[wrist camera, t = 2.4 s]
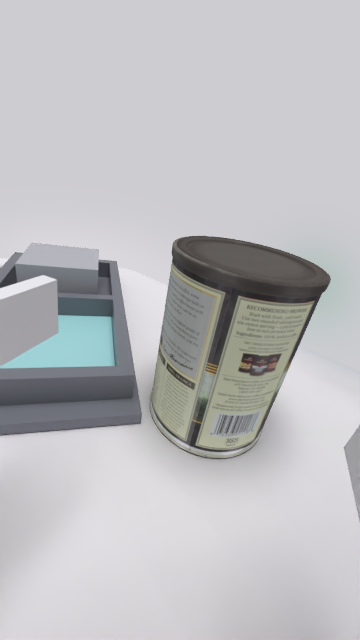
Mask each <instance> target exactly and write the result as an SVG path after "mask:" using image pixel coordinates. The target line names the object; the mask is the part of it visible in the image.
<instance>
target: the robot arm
mask: <svg viewBox="0 0 360 640" xmlns="http://www.w3.org/2000/svg"><path fill="white" fill-rule="evenodd" d="M57 333H58V294H57V280H56V279H53V278H50V277H48V276H45V275H41V276H38V277H35V278H32V279H28V280H25V281H22V282H19V283H16V284H12V285H9V286H6V287H3V288H0V366H2V365H4V364H6V363H7V362H9V361H11V360H13V359H14V358H16V357H18V356H19V355H21V354H23V353H25V352H26V351H28V350H30V349H31V348H33V347H35V346H37V345H38V344H40V343H42V342H44V341H45V340H47V339H49V338H50V337H52V336H54V335H56V334H57ZM344 450H345V455H346V460H347V464H348V469H349V474H350V478H351V483H352V488H353V492H354V497H355V502H356V506H357V511H358V516H359V520H360V425H359V427H358V428H357V430H356V431H355V432H354V434H353V435H352V437H351V438H350V440H349V441H348V442H347V444H346V445H345V447H344Z"/></svg>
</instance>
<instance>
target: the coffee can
mask: <svg viewBox="0 0 360 640" xmlns="http://www.w3.org/2000/svg"><path fill="white" fill-rule="evenodd" d="M172 256H173V260H172V266H171V272H170V279H169V285H168V292H167V298H166V305H165V312H164V318H163V325H162V331H161V338H160V345H159V351H158V358H157V364H156V370H155V377H154V384H153V390H152V393H151V396H150V410H151V415H152V417H153V419H154V422H155V423H156V425H157V427H158V428H159V429H160V431H161V432H162V433H163V434H164V435H165V436H166V437H167V438H168V439H169V440H170V441H172V442H173V443H175V444H176V445H177V446H179V447H180V448H182V449H184V450H186V451H188V452H190V453H193V454H196V455H199V456H203V457H209V458H228V457H233V456H237V455H240V454H242V453H244V452H246V451H247V450H249V449H251V448H252V447H253V446H254V444H255V443H256V442H257V441H258V439H259V437H260V434H261V431H262V428H263V426H264V423H265V421H266V419H267V416H268V414H269V412H270V409H271V407H272V405H273V403H274V401H275V398H276V396H277V394H278V391H279V389H280V387H281V385H282V382H283V380H284V378H285V375H286V373H287V371H288V369H289V366H290V364H291V362H292V359H293V357H294V355H295V353H296V351H297V348H298V346H299V344H300V341H301V339H302V337H303V335H304V332H305V330H306V328H307V326H308V324H309V321H310V319H311V317H312V314H313V312H314V310H315V307H316V305H317V303H318V301H319V299H320V296H321V294H322V293H323V292H324V291H325V290H326V289H327V287H328V285H329V283H330V280H331V279H330V276H329V274H327V273H326V272H325V271H324V270H323V269H322V268H320V267H319V266H317V265H315V264H314V263H312V262H310V261H307V260H305V259H303V258H301V257H298V256H295V255H293V254H290V253H287V252H284V251H281V250H278V249H274V248H271V247H267V246H263V245H259V244H254V243H250V242H245V241H240V240H234V239H228V238H221V237H208V236H190V237H183V238H179V239H177V240H175V241H174V243H173V247H172Z"/></svg>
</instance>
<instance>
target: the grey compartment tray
mask: <svg viewBox="0 0 360 640" xmlns="http://www.w3.org/2000/svg"><path fill="white" fill-rule="evenodd" d="M98 253H99V250H97V249H88V248H78V247H68V246H57V245H47V244H37V243H31V244H30V246H29V247H28V248H27V249H26V251H25V252H24V253H17V252H15V253H14V254H13V255H12V256H11V258H10V259H9V260H8V261H7V262H6V263H5V264H4V265H3V266H2V268H1V269H0V288H3V287H6V286H9V285H12V284H16V283H19V282H22V281H25V280H28V279H32V278H35V277H38V276H41V275H45V276H48V277H50V278H53V279H56V280H57V294H58V333H57V334H56V335H54V336H52V337H50V338H49V339H47V340H45V341H44V342H42V343H40V344H38V345H37V346H35V347H33V348H31V349H30V350H28V351H26V352H25V353H23V354H21V355H19V356H18V357H16V358H14V359H13V360H11V361H9V362H7V363H6V364H4V365H2V366H0V435H6V434H17V433H29V432H41V431H53V430H65V429H77V428H89V427H101V426H112V425H124V424H136V423H140V422H141V415H142V414H141V408H140V401H139V395H138V389H137V383H136V377H135V371H134V364H133V358H132V352H131V346H130V340H129V334H128V328H127V321H126V315H125V309H124V303H123V297H122V291H121V284H120V278H119V272H118V267H117V261H107V260H98V256H99V254H98Z"/></svg>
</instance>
